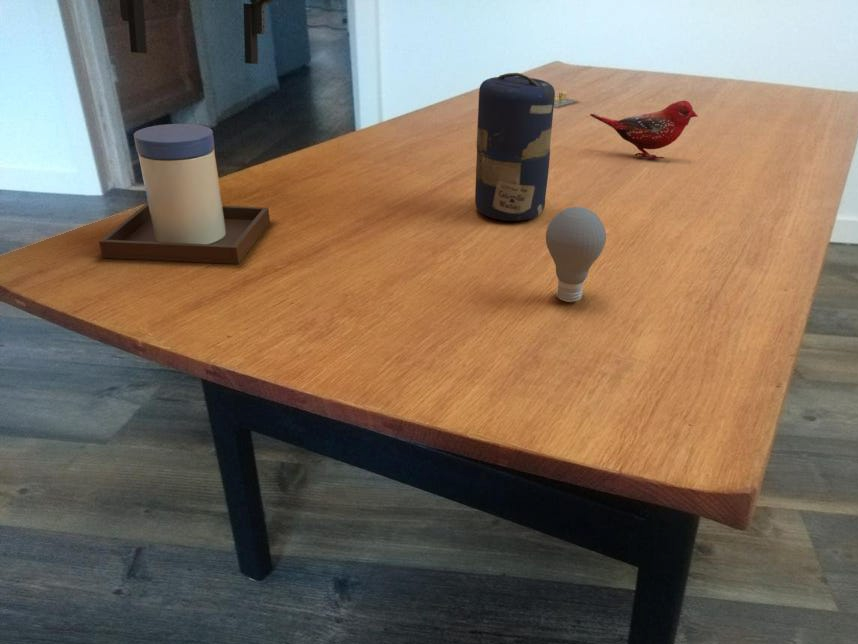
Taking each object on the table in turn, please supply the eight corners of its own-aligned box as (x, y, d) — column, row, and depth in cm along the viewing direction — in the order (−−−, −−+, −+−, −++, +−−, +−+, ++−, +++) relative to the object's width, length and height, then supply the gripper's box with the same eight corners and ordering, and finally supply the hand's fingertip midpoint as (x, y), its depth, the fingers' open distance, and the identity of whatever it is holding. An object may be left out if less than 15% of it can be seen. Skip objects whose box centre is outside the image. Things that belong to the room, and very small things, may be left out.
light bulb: (552, 283, 82) (561, 194, 77) (605, 295, 80) (617, 205, 75) (531, 304, 77) (539, 211, 72) (586, 318, 75) (598, 223, 70)
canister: (510, 197, 107) (518, 63, 98) (559, 215, 101) (572, 75, 92) (459, 210, 101) (463, 70, 92) (508, 231, 95) (517, 83, 86)
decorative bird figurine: (688, 166, 124) (699, 103, 119) (583, 152, 129) (590, 92, 124) (690, 161, 126) (701, 100, 121) (587, 148, 131) (594, 89, 126)
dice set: (534, 100, 164) (535, 91, 163) (548, 97, 167) (549, 88, 167) (553, 104, 161) (554, 95, 160) (567, 101, 165) (568, 92, 164)
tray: (102, 258, 83) (98, 241, 82) (150, 217, 95) (147, 202, 94) (238, 264, 83) (236, 247, 82) (270, 222, 95) (268, 207, 94)
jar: (143, 246, 85) (122, 144, 79) (170, 221, 92) (152, 126, 86) (213, 249, 85) (197, 148, 79) (234, 224, 92) (222, 129, 86)
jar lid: (123, 157, 80) (119, 140, 79) (153, 137, 87) (150, 122, 86) (200, 160, 80) (197, 143, 79) (224, 141, 87) (222, 125, 86)
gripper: (306, -129, 86) (305, 67, 94) (89, -151, 86) (106, 48, 94) (289, -146, 79) (290, 68, 87) (53, -170, 79) (75, 47, 87)
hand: (195, 58), depth 91 cm, fingers open, 13 cm apart
